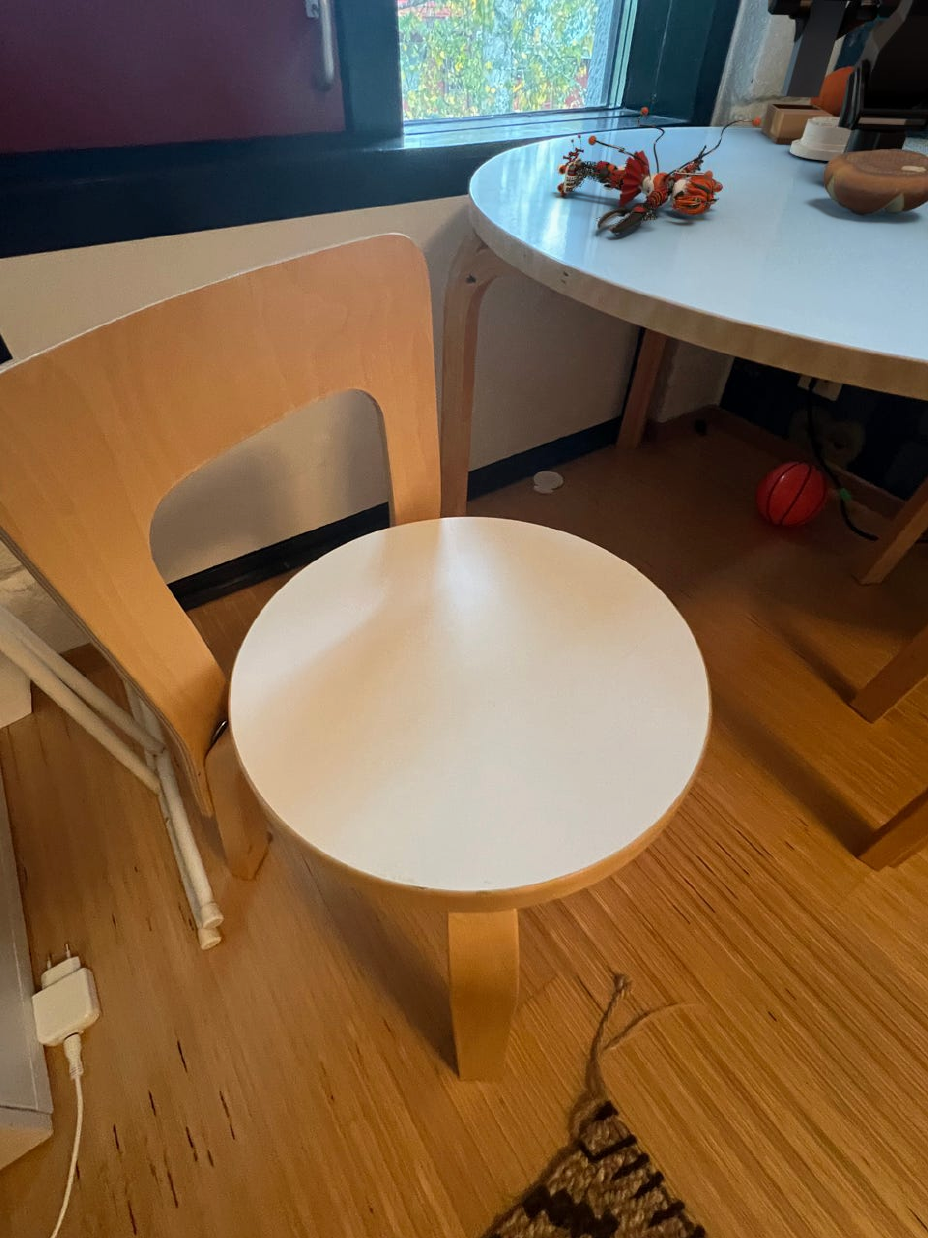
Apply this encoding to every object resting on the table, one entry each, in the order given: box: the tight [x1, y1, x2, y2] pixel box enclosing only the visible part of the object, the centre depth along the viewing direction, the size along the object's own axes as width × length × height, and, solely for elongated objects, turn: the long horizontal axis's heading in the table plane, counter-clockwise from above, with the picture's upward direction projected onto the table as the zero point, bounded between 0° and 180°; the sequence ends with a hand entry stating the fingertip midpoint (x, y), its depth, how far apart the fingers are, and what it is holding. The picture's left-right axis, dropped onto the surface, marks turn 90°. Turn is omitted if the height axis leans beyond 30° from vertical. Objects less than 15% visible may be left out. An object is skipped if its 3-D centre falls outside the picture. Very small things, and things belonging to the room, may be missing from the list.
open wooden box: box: [760, 102, 833, 145], centre depth 109 cm, size 11×7×4 cm
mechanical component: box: [789, 117, 851, 162], centre depth 98 cm, size 10×4×10 cm
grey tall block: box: [780, 0, 849, 98], centre depth 103 cm, size 4×5×13 cm
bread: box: [822, 148, 928, 216], centre depth 76 cm, size 11×11×5 cm
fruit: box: [809, 65, 854, 117], centre depth 118 cm, size 9×9×8 cm
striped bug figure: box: [556, 106, 762, 237], centre depth 74 cm, size 25×9×20 cm
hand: (812, 39), depth 104 cm, fingers closed on grey tall block, 5 cm apart
